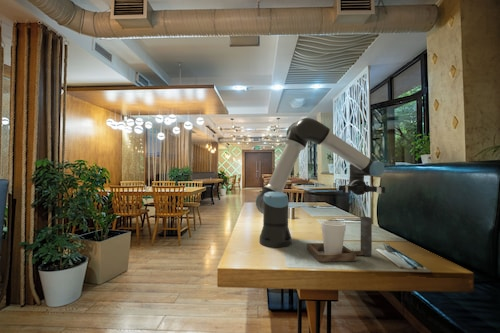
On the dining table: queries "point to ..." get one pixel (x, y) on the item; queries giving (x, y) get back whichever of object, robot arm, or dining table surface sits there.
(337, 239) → the foam cup
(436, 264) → the dining table surface
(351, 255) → the sliding frame
